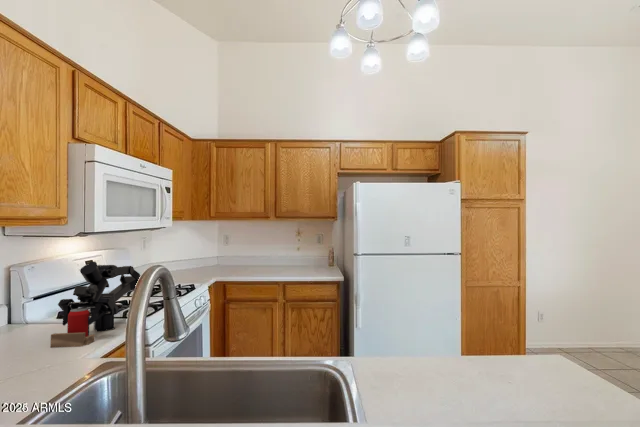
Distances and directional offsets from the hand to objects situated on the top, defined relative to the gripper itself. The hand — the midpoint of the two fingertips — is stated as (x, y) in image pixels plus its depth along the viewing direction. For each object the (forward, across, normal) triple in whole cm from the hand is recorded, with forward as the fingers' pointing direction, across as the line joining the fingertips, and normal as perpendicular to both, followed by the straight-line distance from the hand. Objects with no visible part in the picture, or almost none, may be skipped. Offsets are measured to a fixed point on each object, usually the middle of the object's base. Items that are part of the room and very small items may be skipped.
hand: (76, 324), depth 124 cm
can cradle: (+6, 0, +3) cm, 7 cm away
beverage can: (+4, 0, +6) cm, 7 cm away
